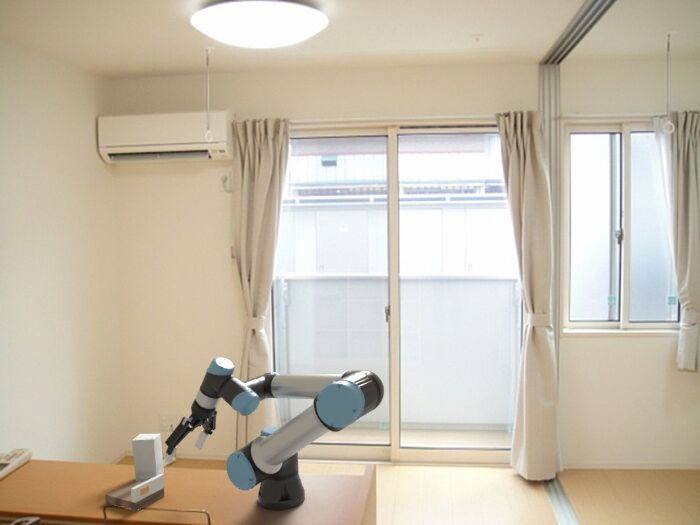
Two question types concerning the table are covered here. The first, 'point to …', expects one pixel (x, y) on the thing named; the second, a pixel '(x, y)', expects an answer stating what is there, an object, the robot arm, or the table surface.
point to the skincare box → (147, 456)
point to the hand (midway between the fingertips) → (182, 454)
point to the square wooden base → (137, 493)
